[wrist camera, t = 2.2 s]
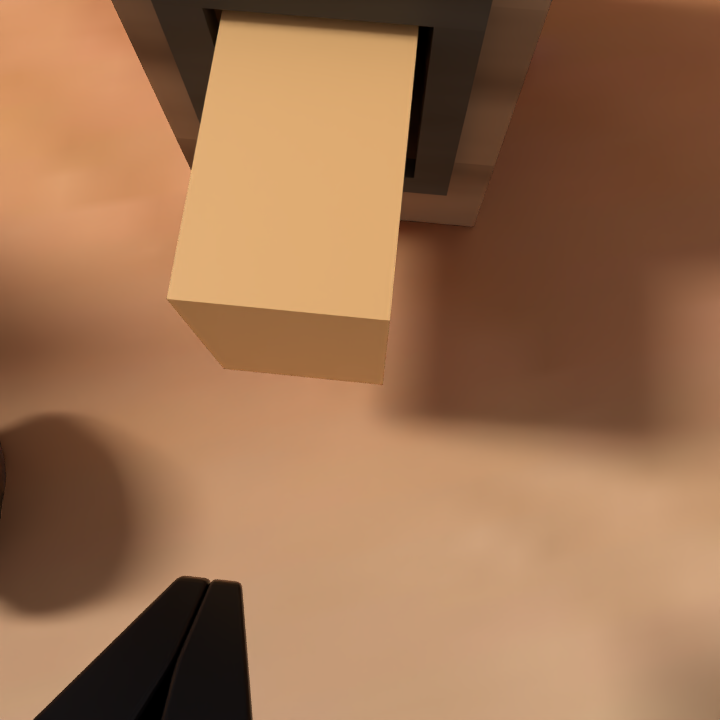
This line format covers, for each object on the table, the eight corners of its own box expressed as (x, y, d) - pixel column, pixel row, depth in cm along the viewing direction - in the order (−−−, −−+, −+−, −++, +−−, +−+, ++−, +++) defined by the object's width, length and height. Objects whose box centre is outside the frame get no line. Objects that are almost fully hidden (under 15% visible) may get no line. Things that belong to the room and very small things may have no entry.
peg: (382, 384, 17) (390, 320, 12) (224, 368, 17) (166, 298, 12) (414, 63, 19) (431, -100, 14) (276, 51, 19) (245, -114, 14)
